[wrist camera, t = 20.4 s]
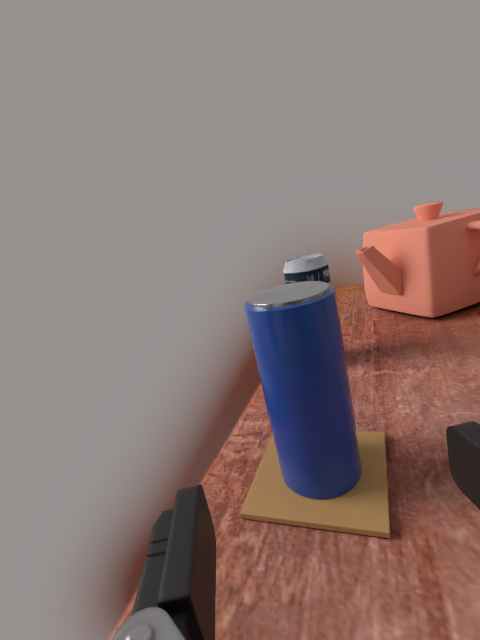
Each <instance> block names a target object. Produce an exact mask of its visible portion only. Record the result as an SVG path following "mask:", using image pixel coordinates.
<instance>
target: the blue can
mask: <svg viewBox="0 0 480 640" xmlns="http://www.w3.org/2000/svg"><path fill="white" fill-rule="evenodd" d="M244 308H245V312H246V317H247V321H248V326H249V330H250V335H251V339H252V344H253V348H254V353H255V356H256V362H257V366H258V370H259V375H260V379H261V384H262V388H263V393H264V397H265V402H266V406H267V411H268V415H269V420H270V424H271V428H272V433H273V437H274V442H275V446H276V451H277V455H278V460H279V464H280V469H281V473H282V477H283V480H284V482H285V483H286V485H287V486H288V487H289V488H290V489H291V490H292V491H294V492H295V493H297V494H299V495H301V496H304V497H307V498H312V499H330V498H334V497H338V496H340V495H343V494H345V493H347V492H348V491H350V490H351V489H352V488H353V487H354V486H355V485H356V484H357V483H358V481H359V479H360V476H361V471H362V468H361V461H360V454H359V447H358V440H357V434H356V427H355V420H354V413H353V407H352V400H351V393H350V386H349V379H348V373H347V366H346V359H345V352H344V346H343V339H342V332H341V325H340V318H339V312H338V305H337V298H336V291H335V288H334V287H333V286H331V285H328V283H326V282H321V281H304V282H296V283H290V284H285V285H280V286H276V287H273V288H269V289H266V290H263V291H260V292H258V293H256V294H254V295H252V296H251V297H250V298H249V300H248V301H247V302H246V303H245V305H244Z"/></svg>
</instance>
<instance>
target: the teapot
mask: <svg viewBox="0 0 480 640" xmlns="http://www.w3.org/2000/svg"><path fill="white" fill-rule="evenodd" d="M442 204H443V202H432V203H426V204H422V205H419V206H416V207H414V212H415V213H416V215H417V217H418V218H414V219H410V220H407V221H403V222H399V223H395V224H392V225H388V226H385V227H381V228H378V229H374V230H371V231H367V232H365V233H364V239H363V247H362V248H361V249H359V250H357V251H356V252H355V254H356V256H357V257H358V258H359V260H360V262H361V263H362V265H363V271H364V285H365V292H366V296H367V300H368V303H369V305H370V306H374V307H378V308H383V309H388V310H393V311H398V312H403V313H408V314H413V315H419V316H424V317H431V318H433V317H438V316H442V315H445V314H448V313H451V312H454V311H456V310H459V309H462V308H465V307H468V306H470V305H473V304H476V303H478V302H480V208H478V209H469V210H461V211H453V212H445V213H440V211H441V208H442Z"/></svg>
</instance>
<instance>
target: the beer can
mask: <svg viewBox="0 0 480 640" xmlns="http://www.w3.org/2000/svg"><path fill="white" fill-rule="evenodd" d="M283 272H284V275H285V280H286V284H290V283H296V282H304V281H321V282H326V283H328V285H331V282H330V275H329V269H328V263H327V261H326V260H325V259H324V257H323V256H322V254H310V255H304V256H299V257H296V258H291V259H289V260H287V261H286V263H285V267H284V270H283Z"/></svg>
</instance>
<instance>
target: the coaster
mask: <svg viewBox="0 0 480 640" xmlns="http://www.w3.org/2000/svg"><path fill="white" fill-rule="evenodd" d="M356 434H357V440H358V447H359V454H360V461H361V468H362V471H361V476H360V479H359V481H358V483H357V484H356V485H355V486H354V487H353V488H352V489H351V490H350V491H348V492H347V493H345V494H343V495H340V496H338V497H334V498H330V499H312V498H307V497H304V496H301V495H299V494H297V493H295V492H294V491H292V490H291V489H290V488H289V487H288V486H287V485H286V483H285V482H284V480H283V477H282V473H281V469H280V464H279V460H278V455H277V451H276V446H275V442H274V437H273V434H272V436H271V439H270V441H269V444H268V446H267V448H266V451H265V453H264V456H263V458H262V461H261V463H260V465H259V468H258V470H257V473H256V475H255V478H254V480H253V482H252V485H251V487H250V490H249V492H248V495H247V497H246V499H245V502H244V504H243V507H242V509H241V512H240V516H241V518H243V519H251V520H258V521H265V522H273V523H280V524H287V525H294V526H302V527H309V528H316V529H324V530H331V531H338V532H346V533H353V534H360V535H368V536H375V537H382V538H391V534H390V516H389V498H388V480H387V462H386V445H385V433H384V432H365V431H356Z"/></svg>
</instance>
